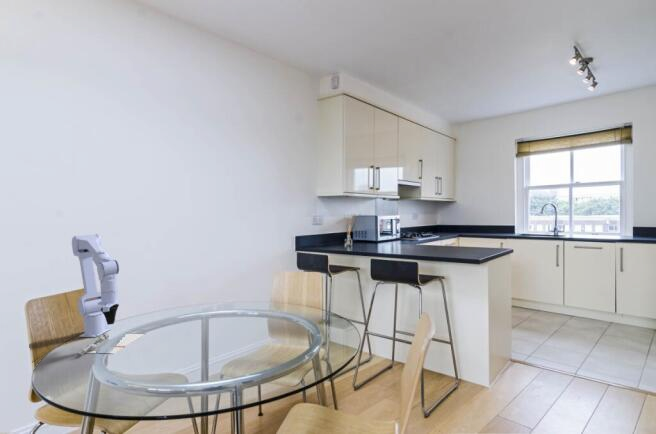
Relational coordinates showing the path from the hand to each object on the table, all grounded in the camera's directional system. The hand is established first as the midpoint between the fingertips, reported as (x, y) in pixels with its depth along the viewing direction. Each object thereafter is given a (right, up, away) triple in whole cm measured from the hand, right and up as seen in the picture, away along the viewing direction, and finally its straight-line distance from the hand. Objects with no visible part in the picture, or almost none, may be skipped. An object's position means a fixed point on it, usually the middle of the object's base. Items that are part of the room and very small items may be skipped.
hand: (110, 323), depth 141 cm
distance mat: (0, -9, +3) cm, 10 cm away
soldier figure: (-5, -9, -3) cm, 11 cm away
